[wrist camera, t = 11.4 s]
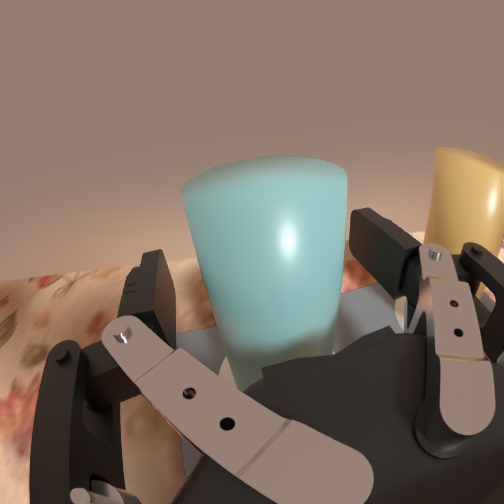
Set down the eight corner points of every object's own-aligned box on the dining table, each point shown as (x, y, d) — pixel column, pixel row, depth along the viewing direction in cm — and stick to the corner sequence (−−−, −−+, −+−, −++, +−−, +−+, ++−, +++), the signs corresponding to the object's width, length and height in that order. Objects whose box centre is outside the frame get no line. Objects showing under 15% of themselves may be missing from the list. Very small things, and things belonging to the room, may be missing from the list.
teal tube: (246, 426, 12) (179, 227, 6) (228, 352, 16) (182, 172, 10) (342, 396, 12) (382, 189, 7) (309, 330, 17) (306, 151, 11)
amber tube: (433, 352, 13) (494, 178, 8) (393, 302, 18) (418, 146, 12) (479, 323, 14) (529, 175, 8) (439, 283, 18) (467, 147, 13)
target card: (187, 477, 10) (184, 475, 9) (175, 338, 18) (173, 333, 18) (514, 329, 13) (517, 325, 12) (444, 262, 21) (446, 257, 21)
